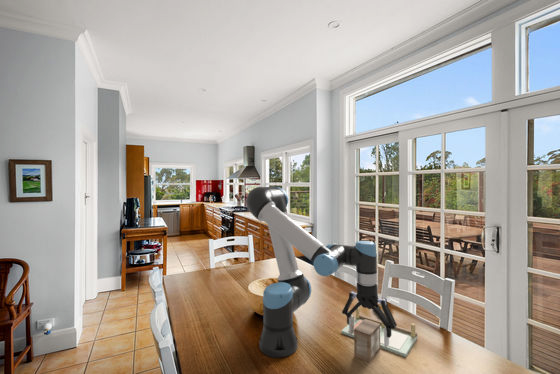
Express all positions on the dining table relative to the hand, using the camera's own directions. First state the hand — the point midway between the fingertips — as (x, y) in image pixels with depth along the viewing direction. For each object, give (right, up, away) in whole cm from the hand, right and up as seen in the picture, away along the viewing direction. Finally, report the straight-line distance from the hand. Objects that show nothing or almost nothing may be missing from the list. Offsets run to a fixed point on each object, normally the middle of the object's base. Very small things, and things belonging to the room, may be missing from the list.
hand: (368, 339), depth 104 cm
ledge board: (+8, -5, +12) cm, 15 cm away
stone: (+16, -5, +31) cm, 35 cm away
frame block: (0, -5, 0) cm, 5 cm away
